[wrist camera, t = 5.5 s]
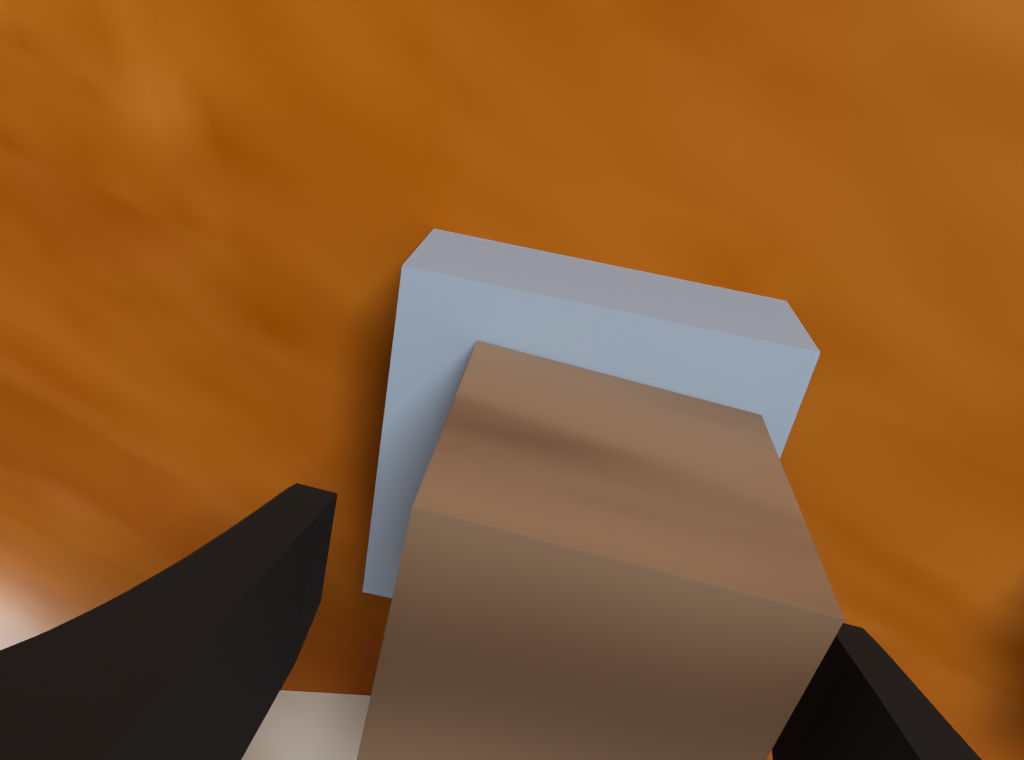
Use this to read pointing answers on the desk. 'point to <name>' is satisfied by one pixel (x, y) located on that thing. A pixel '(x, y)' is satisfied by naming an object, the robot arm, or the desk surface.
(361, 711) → the cream cube
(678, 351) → the blue slab
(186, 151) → the desk surface
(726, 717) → the walnut cube
